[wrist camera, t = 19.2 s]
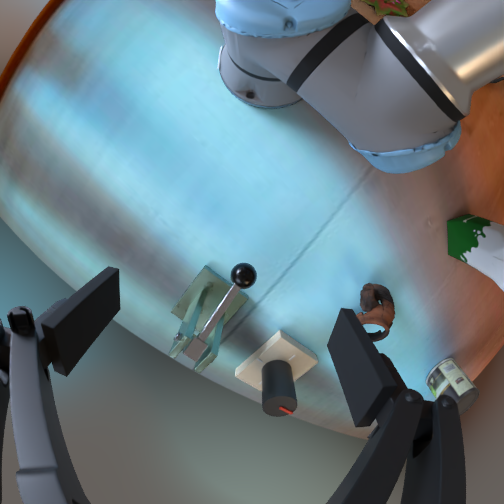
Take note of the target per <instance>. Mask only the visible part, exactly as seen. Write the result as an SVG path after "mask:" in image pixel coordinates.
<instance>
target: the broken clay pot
mask: <svg viewBox="0 0 504 504" xmlns="http://www.w3.org/2000/svg"><path fill="white" fill-rule="evenodd" d="M360 295H361V299H360V306H361V308H362V310H363V311H365V312H367V313H365V314H363V313H362V312H360V313H359V314H357V315H356V316H357V318H358V319H359V321H360V322H361V324H362V325H363V324H377V325H380V326H383V327H384V328H385V331H383V332H381V330H379V331H378V332H376V333H367V334H368V335H369V337H370V339H371V340H372V342H375V341H379V340H382V339H384V338H385V337H387V336H388V334H389V331H390V330H389V329H390V327H391V326H392V324H393V322H392V321H393V319H394V318H395V317H394V316H395V311H394V309H395V308H394V302H393V299H392V296H391V295H390V292H389V290H388V289H387V288H386V287H384V286H382V285H378V284H370V283H368V284H365V285H364V286H363V290H362V291H361V293H360ZM378 300H380V301H381V304H382V305H381V304H379V302H378Z"/></svg>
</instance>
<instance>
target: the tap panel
mask: <svg viewBox="0 0 504 504" xmlns="http://www.w3.org/2000/svg"><path fill="white" fill-rule="evenodd" d="M272 360H283V361H286V362H287V363H289V364H290V366H291V368H292V374H293V380H294V382H295V380H297V379H298V378H299V377H300V376H302V375H303V374H304V373H306V372H307V371H308V370H309V369H311V368H312V367H313V366H314V365H315V364H317V363H318V360H317V356H316V354H315V353H313V352H312V351H310V350H309V349H307V348H306V347H304V346H303V345H301V344H300V343H299V342H297V341H296V340H294V339H293V338H291V337H290V336H288V335H287V334H286V333H284V332H283V331H281V330H279V331H278V332H277V333H276V334H275V335H273V336H272V337H271V338H270V339H269V340H268V341H267V342H266V343H265V344H263V345H262V346H261V347H260V348H259V349H258V350H257V351H256V352H254V353H253V354H252V355H251V356H250V357H249V358H248V359H246V360H245V361H244V362H243V363H242V364H241V365H239V366H238V367H237V368H236V373H235V377H237V378H239V379H240V380H242V381H244V382H245V383H247V384H249V385H251V386H253V387H254V388H256V389H258V390H260V391H262V373H261V370H262V367H263V366H264V365H265V364H266V363H267V362H269V361H272Z"/></svg>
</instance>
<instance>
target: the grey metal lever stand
mask: <svg viewBox="0 0 504 504" xmlns="http://www.w3.org/2000/svg"><path fill="white" fill-rule="evenodd" d="M231 286H232V284H231V283H229V282H228V281H226V280H225V279H224V278H222V277H221V276H220V275H218V274H217V273H215V272H214V271H213V270H211V269H210V268H209V267H207V266H206V265H205V266H204V268H203V269H202V270H201V272H200V273H199V274H198V275H197V277H196V278H195V279H194V281H193V282H192V283H191V285H190V286H189V287H188V289H187V290H186V291H185V293H184V294H183V295H182V297H181V298H180V299H179V301H178V302H177V303H176V305H175V306H174V307H173V309H172V310H171V313H173V314H174V315H176V316H177V317H178V318H180V319H181V320H183V322H182V324H181V326H180V329H179V331H178V333H177V334H176V336H175V337H174V340H175V341H174V343H173V345H172V348H171V350H170V352H169V355H170V356H171V357H173V358H176V357H177V355H178V354H179V353H180V352H181V351H182V350H183V349H184V347H185V346H186V345H187V344H188V343H189V342H190V341H191V339H192V336H193V333H194V330H195V329H196V330H198V331H199V332H200V331H201V330H202V328H203V327H204V325H205V324H206V322H207V321H208V319H209V318H210V316H211V315H212V314H213V312H214V311H215V309H216V308H217V306H218V305H219V303H220V302H221V300H222V299H223V297H224V296H225V294H226V293H227V292H228V290H229V289H230V287H231ZM247 300H248V295H246V294H245V293H243V292H242V291H240V290H239V292H238V293H237V295H236V296H235V298H234V299H233V301H232V302H231V304H230V305H229V307H228V308H227V310H226V311H225V313H224V314H223V315H222V317H221V318H220V320H219V321H218V323H217V324H216V326H215V327H214V329H213V330H212V332H211V333H210V335H209V336H208V338H207V339H206V340H205V342H206V343H207V345H208V347H207V348H206V350H205V351H204V353H203V354H202V356H201V357H200V359H199V360H198V361H197V362H196V364H195V367H194V371H196V372H198V373H201V372H202V371H203V370H204V369H205V368H206V367H207V366H208V365H209V364H210V363H212V362H213V361H214V359H215V358H216V357H217V355H218V350H219V344H220V339H221V333H222V328H223V326H224V325H225V324H226V323H227V322H228V321H229V319H230V318H231V317H232V316H233V315H234V314H235V313H236V312H237V311H238V310H239V308H240V307H241V306H242V305H243V304H244V303H245V302H246V301H247Z"/></svg>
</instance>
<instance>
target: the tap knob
mask: <svg viewBox="0 0 504 504" xmlns="http://www.w3.org/2000/svg"><path fill="white" fill-rule="evenodd" d="M261 373H262V408H263V411H264V412H265V413H266V414H268V415H271V416H276V417H278V416H285V415H288V414H292V413H293V412H294V411H295V409H296V408H297V399H296V393H295V387H294V380H293V374H292V368H291V366H290V364H289V363H287V362H286V361H283V360H272V361H269V362H267V363H266V364H265V365H264V366H263V367H262V370H261Z"/></svg>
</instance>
